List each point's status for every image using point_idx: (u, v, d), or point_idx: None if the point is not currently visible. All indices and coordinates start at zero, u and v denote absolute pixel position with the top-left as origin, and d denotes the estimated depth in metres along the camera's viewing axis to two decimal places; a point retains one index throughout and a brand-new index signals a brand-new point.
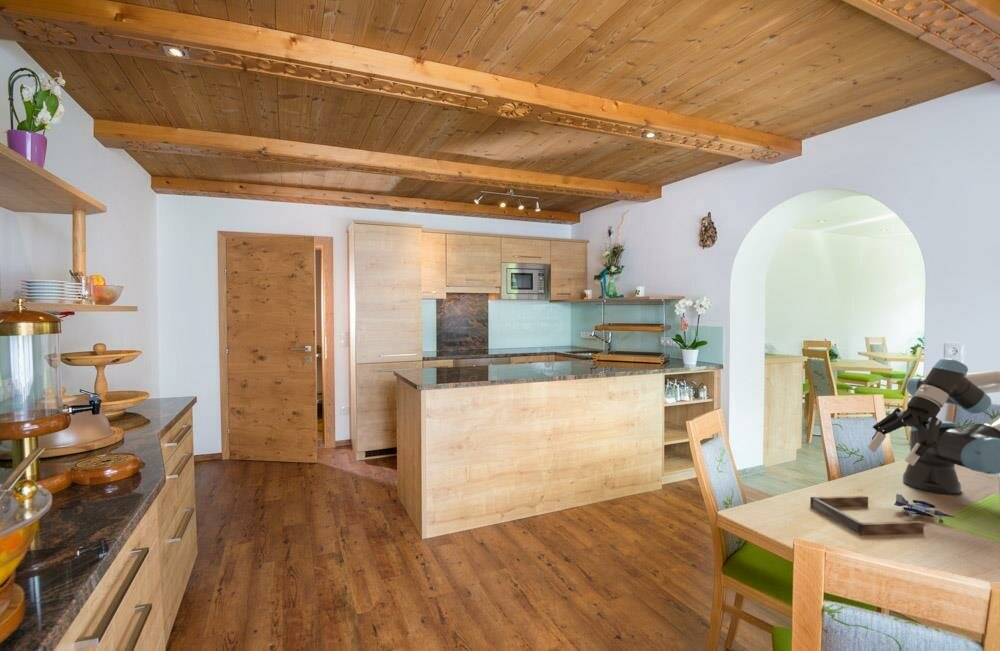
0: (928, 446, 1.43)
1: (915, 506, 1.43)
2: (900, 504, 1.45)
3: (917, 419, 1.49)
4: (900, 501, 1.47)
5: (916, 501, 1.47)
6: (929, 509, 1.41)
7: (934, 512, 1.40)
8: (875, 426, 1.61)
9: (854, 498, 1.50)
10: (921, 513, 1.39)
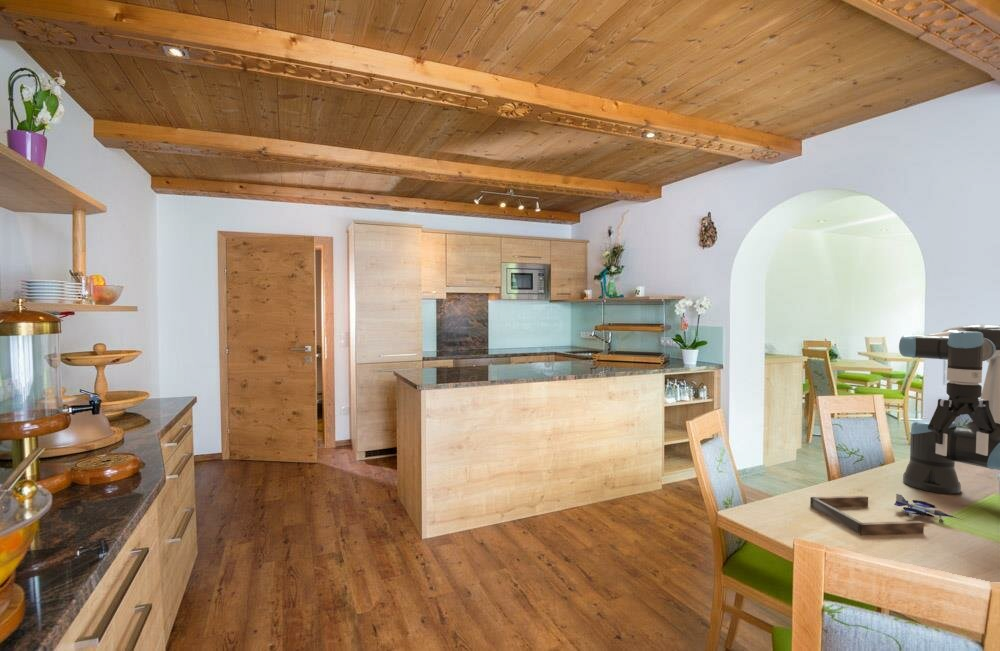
0: None
1: (915, 506, 1.43)
2: (900, 504, 1.45)
3: (976, 408, 1.41)
4: (900, 501, 1.47)
5: (916, 501, 1.47)
6: (929, 509, 1.41)
7: (934, 512, 1.40)
8: (938, 429, 1.41)
9: (854, 498, 1.50)
10: (921, 513, 1.39)
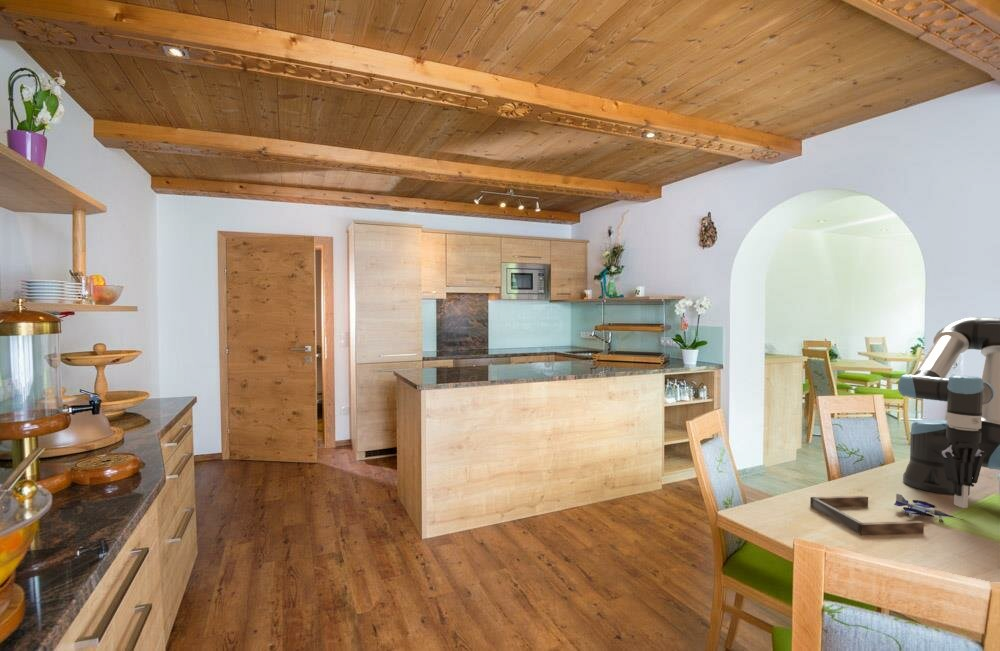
0: None
1: (915, 506, 1.43)
2: (900, 504, 1.45)
3: (973, 455, 1.41)
4: (900, 501, 1.47)
5: (916, 501, 1.47)
6: (929, 509, 1.41)
7: (934, 512, 1.40)
8: (956, 480, 1.41)
9: (854, 498, 1.50)
10: (921, 513, 1.39)
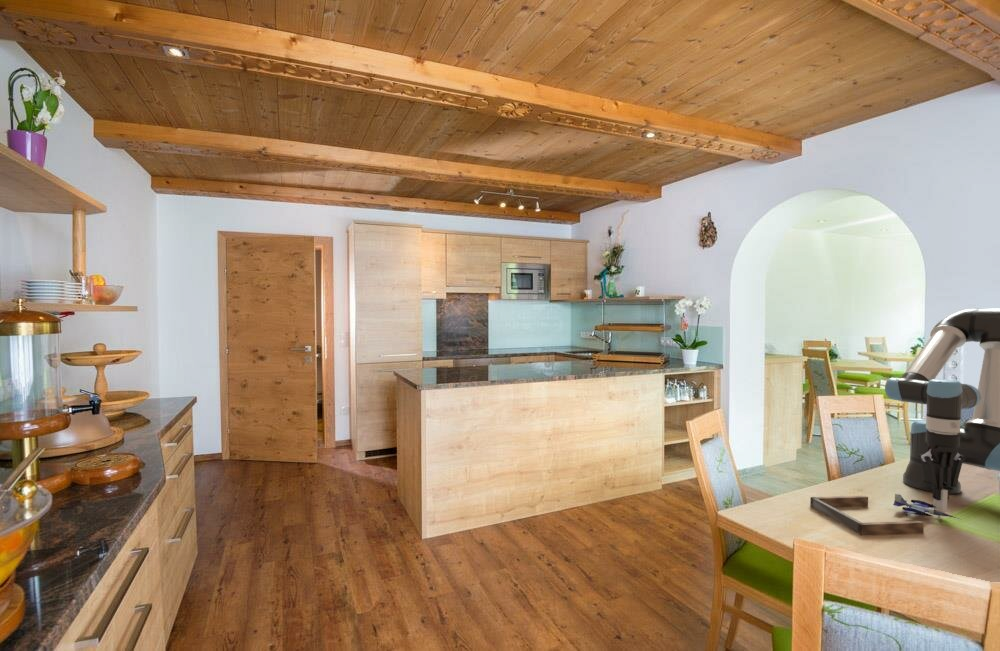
0: None
1: (914, 506, 1.43)
2: (899, 504, 1.45)
3: (952, 459, 1.40)
4: (899, 501, 1.46)
5: (914, 501, 1.47)
6: (928, 509, 1.41)
7: (933, 512, 1.39)
8: (935, 485, 1.41)
9: (854, 498, 1.50)
10: (921, 513, 1.39)
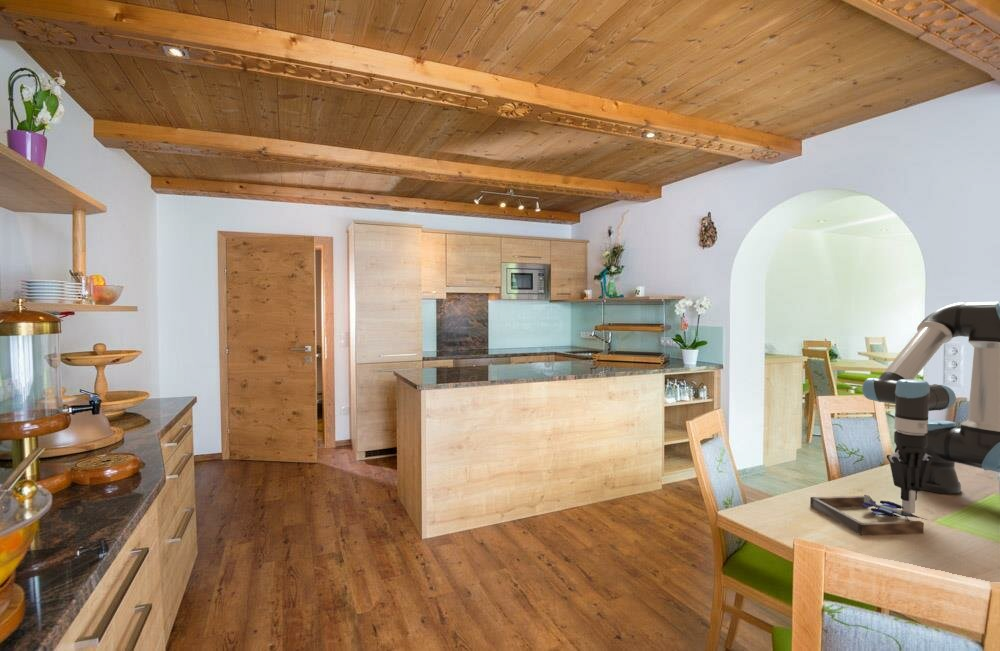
0: None
1: (882, 507, 1.42)
2: (868, 505, 1.44)
3: (920, 460, 1.40)
4: (868, 502, 1.46)
5: (883, 502, 1.46)
6: (896, 510, 1.40)
7: (901, 513, 1.39)
8: (903, 485, 1.40)
9: (854, 498, 1.50)
10: (888, 514, 1.38)
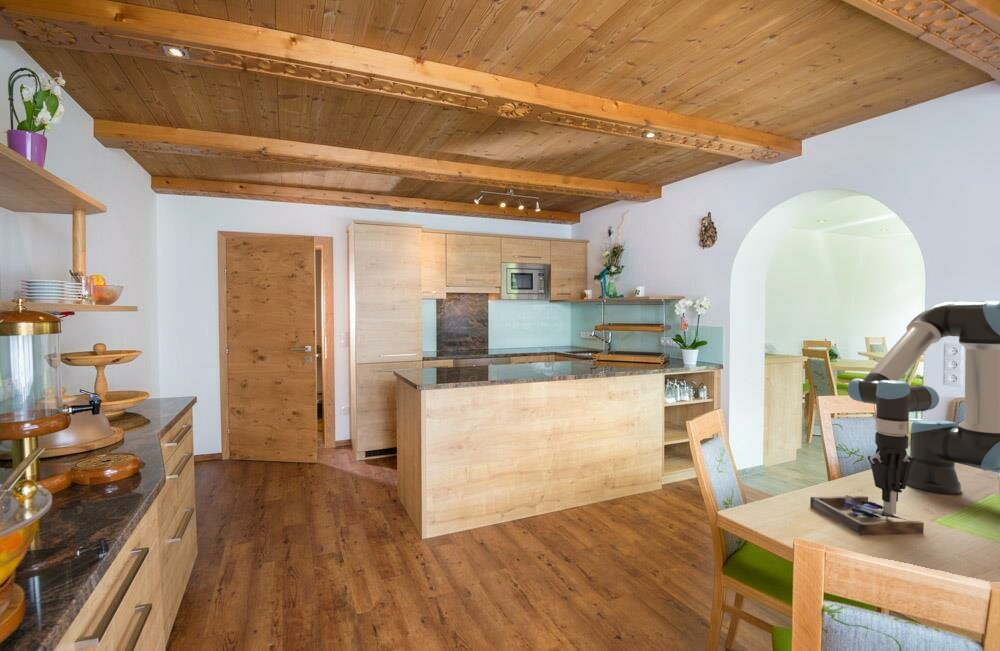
0: None
1: (863, 507, 1.42)
2: (849, 505, 1.44)
3: (901, 461, 1.39)
4: (849, 502, 1.45)
5: (865, 502, 1.46)
6: (877, 510, 1.40)
7: (882, 513, 1.38)
8: (884, 487, 1.40)
9: (854, 498, 1.50)
10: (868, 514, 1.38)
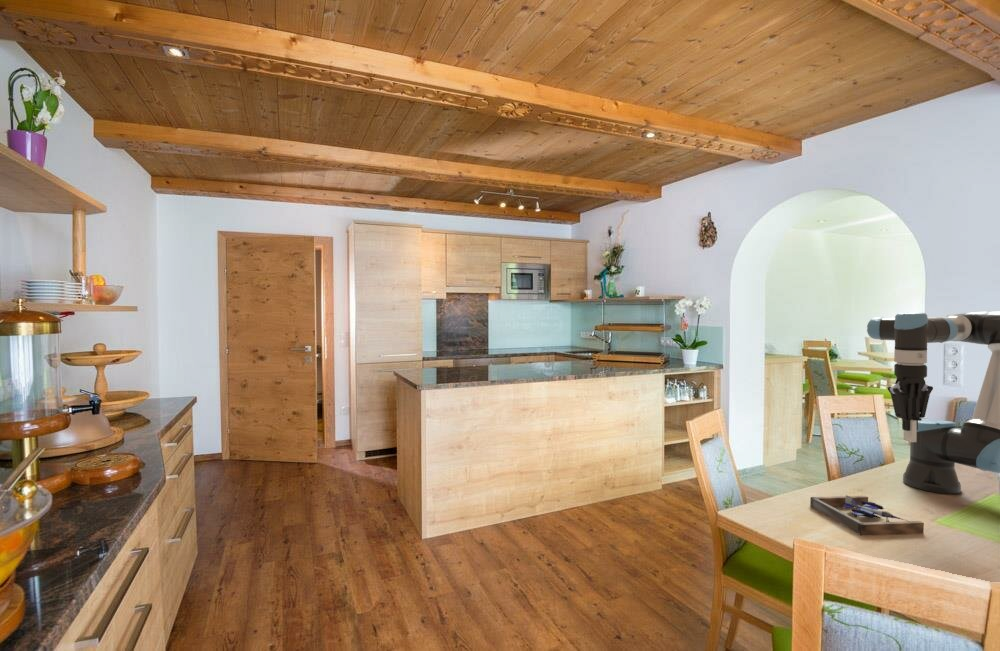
0: None
1: (863, 508, 1.42)
2: (849, 506, 1.44)
3: (920, 390, 1.43)
4: (849, 503, 1.45)
5: (865, 502, 1.46)
6: (877, 511, 1.40)
7: (882, 514, 1.38)
8: (904, 415, 1.43)
9: (854, 498, 1.50)
10: (868, 515, 1.38)
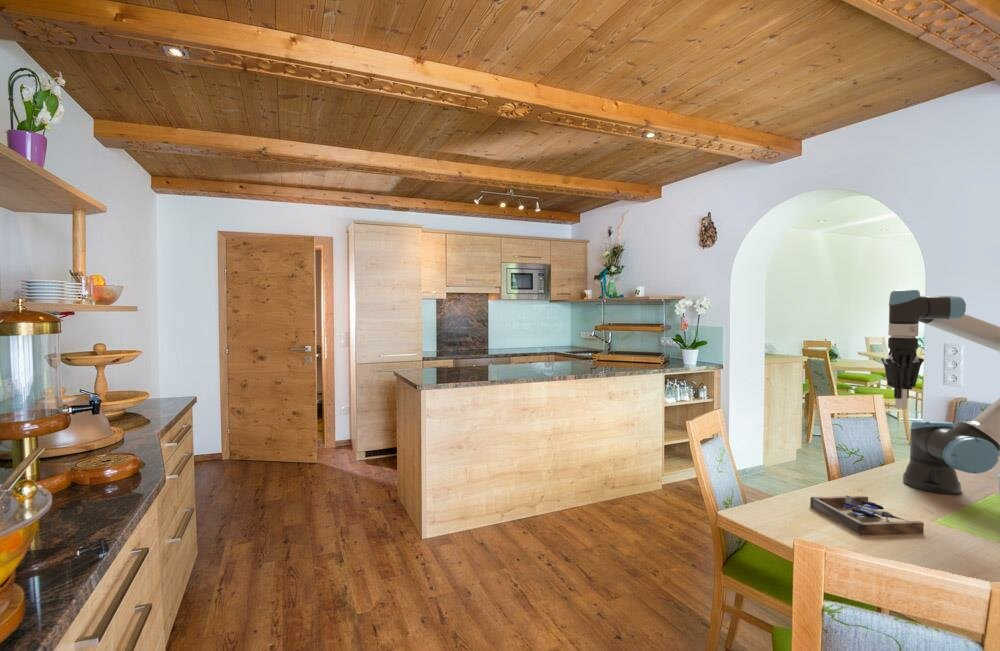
0: None
1: (863, 508, 1.42)
2: (849, 506, 1.44)
3: (911, 361, 1.55)
4: (849, 503, 1.45)
5: (865, 502, 1.46)
6: (877, 511, 1.40)
7: (882, 514, 1.38)
8: (896, 384, 1.56)
9: (854, 498, 1.50)
10: (868, 515, 1.38)
